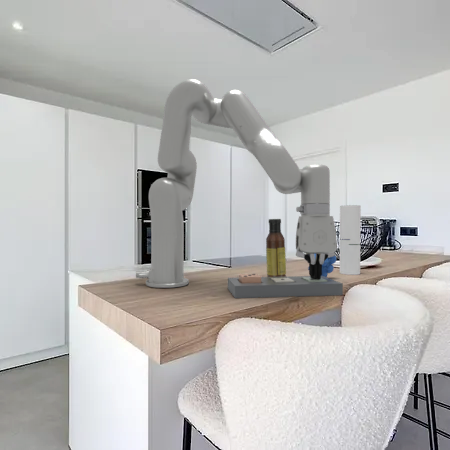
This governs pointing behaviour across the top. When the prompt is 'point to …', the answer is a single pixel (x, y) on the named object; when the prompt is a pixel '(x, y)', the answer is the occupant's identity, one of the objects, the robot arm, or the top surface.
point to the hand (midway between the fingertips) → (315, 278)
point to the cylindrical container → (350, 239)
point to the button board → (284, 288)
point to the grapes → (327, 265)
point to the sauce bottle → (275, 250)
